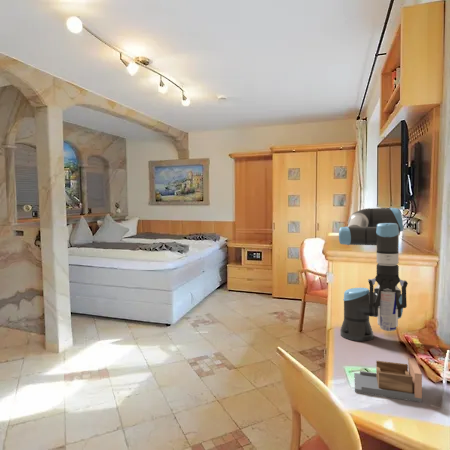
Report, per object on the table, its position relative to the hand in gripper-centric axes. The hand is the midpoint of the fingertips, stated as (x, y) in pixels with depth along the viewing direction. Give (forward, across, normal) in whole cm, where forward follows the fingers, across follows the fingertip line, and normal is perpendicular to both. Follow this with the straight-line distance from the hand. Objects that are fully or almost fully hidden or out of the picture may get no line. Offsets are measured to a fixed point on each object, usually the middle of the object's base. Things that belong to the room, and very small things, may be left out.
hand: (387, 324), depth 129 cm
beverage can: (+2, 0, 0) cm, 2 cm away
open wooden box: (+17, 0, -13) cm, 22 cm away
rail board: (+18, -2, -14) cm, 23 cm away
